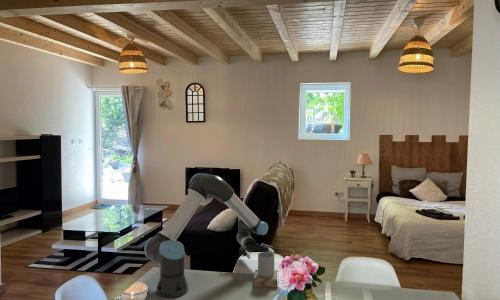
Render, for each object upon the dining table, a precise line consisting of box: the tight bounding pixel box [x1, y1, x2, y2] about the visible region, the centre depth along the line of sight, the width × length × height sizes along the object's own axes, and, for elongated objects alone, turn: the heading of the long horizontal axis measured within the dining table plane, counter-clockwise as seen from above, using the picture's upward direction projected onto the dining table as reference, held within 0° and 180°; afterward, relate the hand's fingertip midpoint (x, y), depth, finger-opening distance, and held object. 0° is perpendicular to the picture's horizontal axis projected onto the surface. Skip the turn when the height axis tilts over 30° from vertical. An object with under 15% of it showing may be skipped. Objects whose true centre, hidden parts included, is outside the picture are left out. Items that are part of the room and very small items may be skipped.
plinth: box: [253, 269, 279, 288], centre depth 191 cm, size 12×12×4 cm
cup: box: [257, 251, 275, 277], centre depth 191 cm, size 8×8×10 cm
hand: (261, 255), depth 198 cm, fingers open, 13 cm apart
